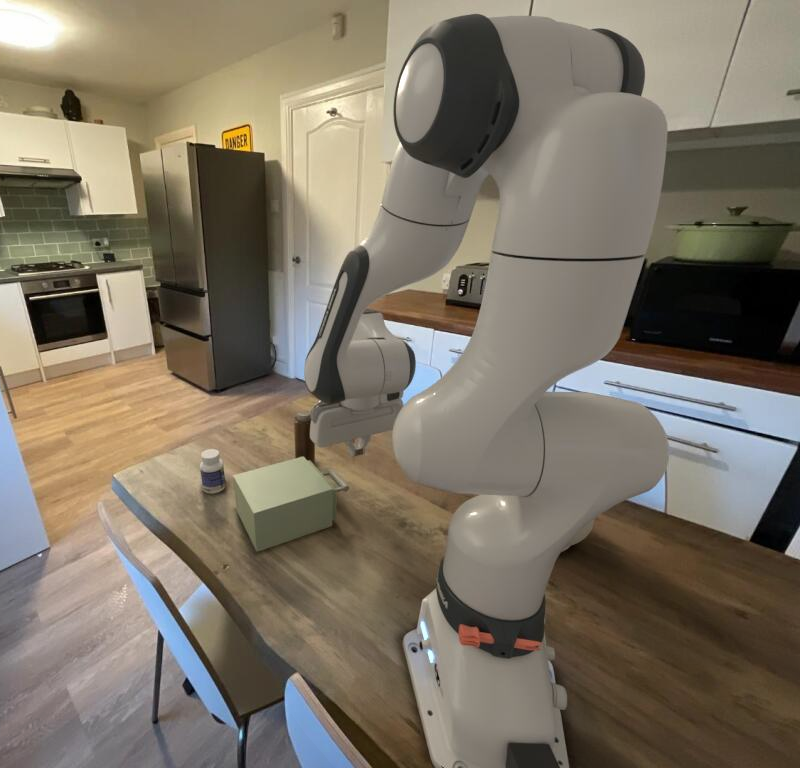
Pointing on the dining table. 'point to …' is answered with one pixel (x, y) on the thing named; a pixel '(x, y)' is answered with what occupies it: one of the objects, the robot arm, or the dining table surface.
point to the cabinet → (282, 502)
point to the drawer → (340, 483)
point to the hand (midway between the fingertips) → (356, 454)
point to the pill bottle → (212, 471)
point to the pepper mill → (303, 436)
